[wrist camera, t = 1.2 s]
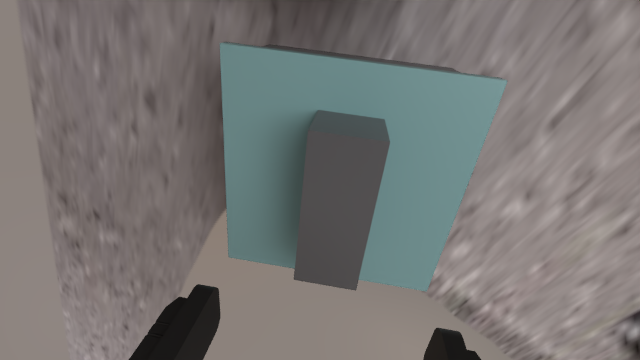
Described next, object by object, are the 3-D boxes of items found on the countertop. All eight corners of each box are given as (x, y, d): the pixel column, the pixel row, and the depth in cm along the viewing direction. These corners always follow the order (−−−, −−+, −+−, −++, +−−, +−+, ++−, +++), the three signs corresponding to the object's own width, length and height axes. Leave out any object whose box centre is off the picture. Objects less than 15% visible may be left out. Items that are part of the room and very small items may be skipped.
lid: (232, 41, 19) (183, 47, 14) (493, 75, 18) (548, 95, 13) (237, 241, 26) (206, 296, 21) (422, 272, 25) (438, 338, 20)
